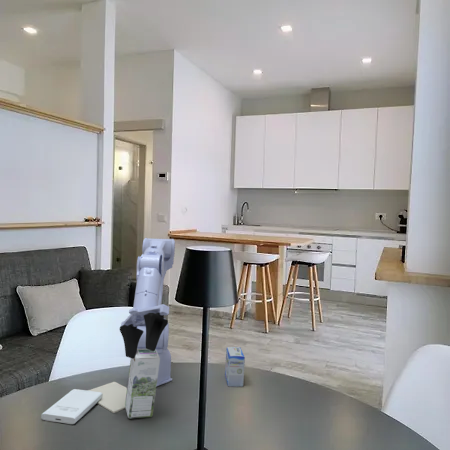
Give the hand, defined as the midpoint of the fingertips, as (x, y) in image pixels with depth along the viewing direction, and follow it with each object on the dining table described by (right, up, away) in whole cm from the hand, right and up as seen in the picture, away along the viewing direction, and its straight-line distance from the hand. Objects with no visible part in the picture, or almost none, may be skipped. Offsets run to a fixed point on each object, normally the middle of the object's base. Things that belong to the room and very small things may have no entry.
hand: (140, 353), depth 90 cm
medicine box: (+21, -17, +27) cm, 38 cm away
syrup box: (-2, -16, +6) cm, 17 cm away
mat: (-10, -15, +14) cm, 23 cm away
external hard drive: (-17, -15, +6) cm, 24 cm away
